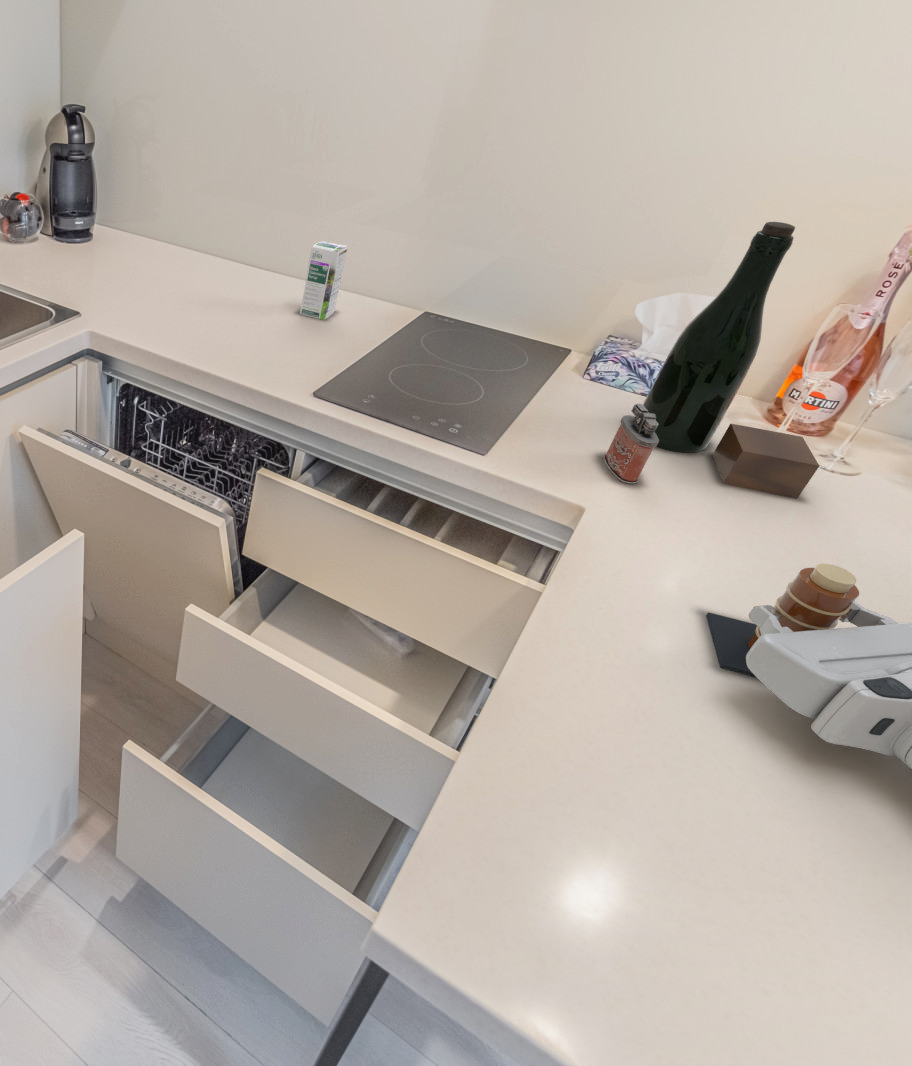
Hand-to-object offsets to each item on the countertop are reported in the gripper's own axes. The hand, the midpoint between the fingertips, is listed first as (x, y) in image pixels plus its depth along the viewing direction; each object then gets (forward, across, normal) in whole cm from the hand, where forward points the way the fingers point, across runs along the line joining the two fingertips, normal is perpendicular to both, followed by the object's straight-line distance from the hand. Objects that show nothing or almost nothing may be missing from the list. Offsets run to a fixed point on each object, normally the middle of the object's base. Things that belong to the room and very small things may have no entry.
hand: (798, 606), depth 79 cm
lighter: (+36, -8, +7) cm, 38 cm away
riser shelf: (+33, -27, +7) cm, 43 cm away
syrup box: (+101, +16, +7) cm, 102 cm away
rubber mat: (-1, 0, +7) cm, 7 cm away
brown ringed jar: (-1, 0, +6) cm, 6 cm away
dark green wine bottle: (+45, -23, +7) cm, 51 cm away
